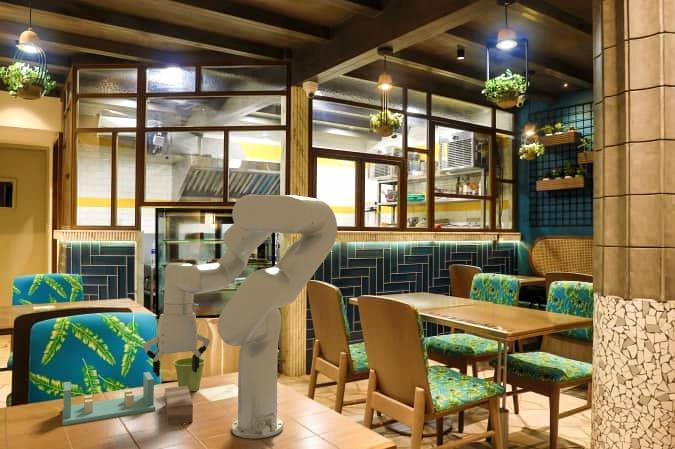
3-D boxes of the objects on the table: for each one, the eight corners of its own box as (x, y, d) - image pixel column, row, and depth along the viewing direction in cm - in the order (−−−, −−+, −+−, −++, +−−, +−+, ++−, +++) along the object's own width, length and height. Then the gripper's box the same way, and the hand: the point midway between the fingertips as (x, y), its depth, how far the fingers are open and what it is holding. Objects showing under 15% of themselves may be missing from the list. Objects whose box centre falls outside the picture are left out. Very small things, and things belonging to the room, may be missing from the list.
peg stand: (148, 397, 144) (149, 370, 145) (155, 410, 134) (155, 380, 134) (62, 410, 134) (63, 380, 134) (62, 425, 123) (62, 393, 123)
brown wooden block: (192, 423, 126) (192, 404, 126) (167, 427, 123) (167, 407, 124) (187, 403, 140) (187, 385, 141) (165, 406, 138) (165, 388, 138)
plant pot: (209, 385, 156) (209, 357, 156) (198, 395, 147) (198, 365, 147) (180, 384, 157) (181, 357, 157) (167, 394, 148) (168, 364, 148)
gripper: (207, 305, 140) (205, 366, 140) (142, 308, 132) (139, 372, 132) (214, 309, 133) (212, 373, 133) (146, 313, 125) (143, 381, 125)
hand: (176, 373), depth 132 cm, fingers open, 9 cm apart
